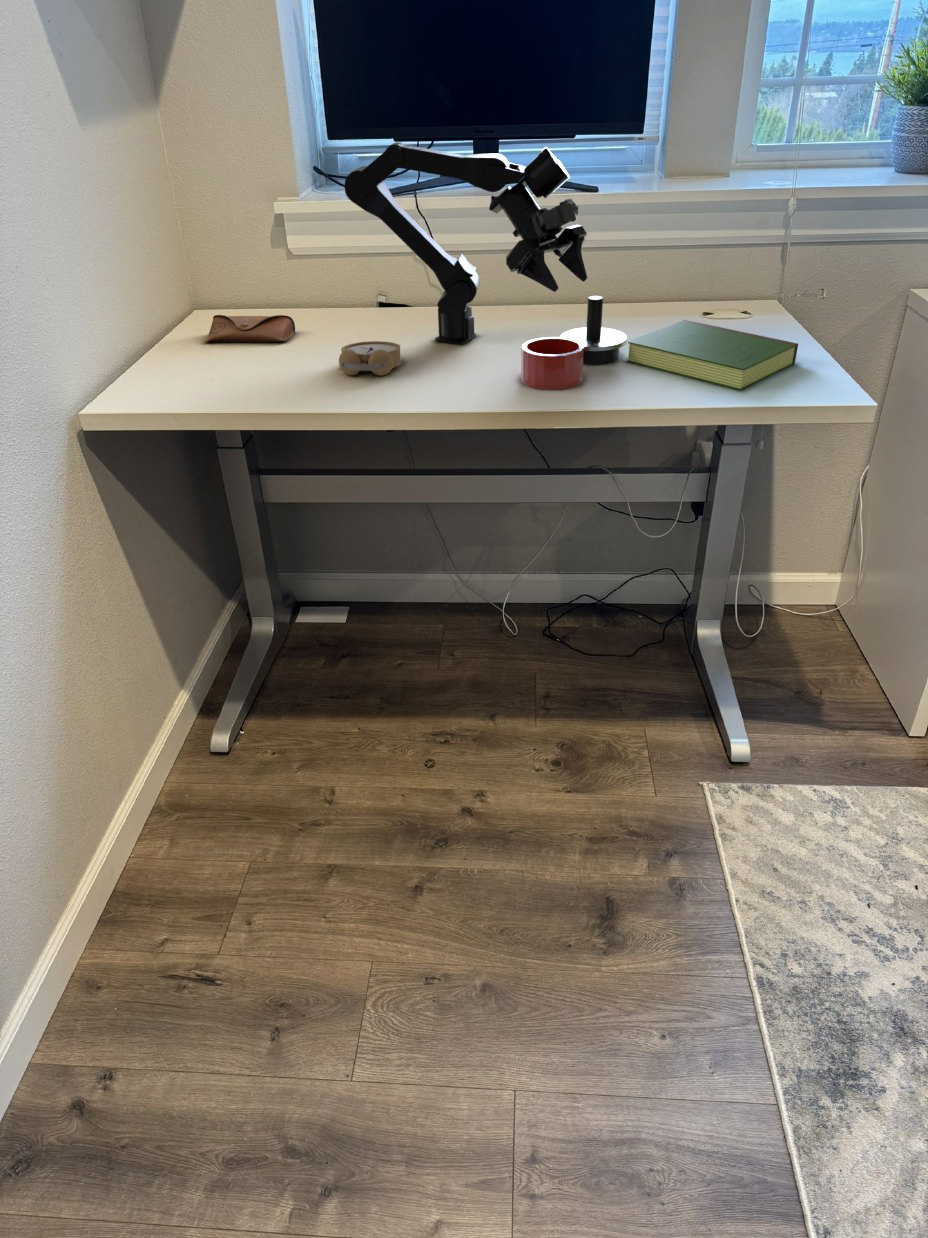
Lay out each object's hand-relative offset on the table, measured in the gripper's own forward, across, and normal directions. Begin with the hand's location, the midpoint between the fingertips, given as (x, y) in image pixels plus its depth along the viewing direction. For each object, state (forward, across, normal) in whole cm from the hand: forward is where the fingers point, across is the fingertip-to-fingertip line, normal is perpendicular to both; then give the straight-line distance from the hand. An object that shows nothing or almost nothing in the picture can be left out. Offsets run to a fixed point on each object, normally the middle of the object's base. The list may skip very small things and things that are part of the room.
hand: (571, 284), depth 164 cm
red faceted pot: (+14, -15, +4) cm, 21 cm away
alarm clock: (-8, -31, +26) cm, 41 cm away
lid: (+11, 0, +3) cm, 11 cm away
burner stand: (+13, 0, +5) cm, 14 cm away
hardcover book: (+27, +10, -9) cm, 30 cm away
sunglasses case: (-33, -32, +51) cm, 69 cm away
